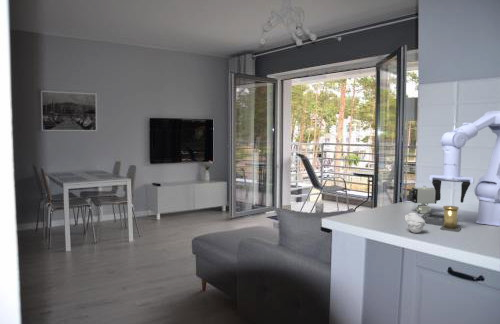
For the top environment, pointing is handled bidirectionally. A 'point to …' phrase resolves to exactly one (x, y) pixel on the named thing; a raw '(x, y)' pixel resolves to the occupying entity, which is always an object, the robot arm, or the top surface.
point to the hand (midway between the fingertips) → (450, 201)
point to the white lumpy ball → (414, 222)
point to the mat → (451, 229)
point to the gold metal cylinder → (450, 217)
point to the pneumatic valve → (423, 198)
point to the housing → (433, 218)
